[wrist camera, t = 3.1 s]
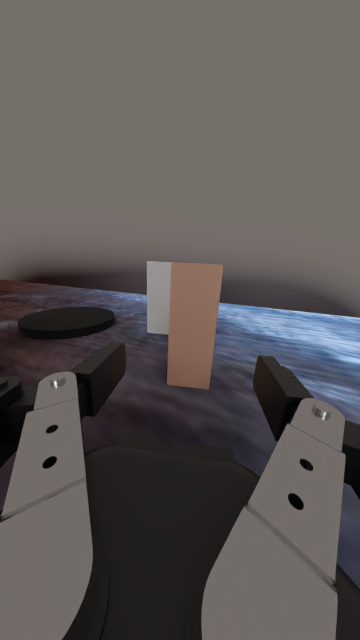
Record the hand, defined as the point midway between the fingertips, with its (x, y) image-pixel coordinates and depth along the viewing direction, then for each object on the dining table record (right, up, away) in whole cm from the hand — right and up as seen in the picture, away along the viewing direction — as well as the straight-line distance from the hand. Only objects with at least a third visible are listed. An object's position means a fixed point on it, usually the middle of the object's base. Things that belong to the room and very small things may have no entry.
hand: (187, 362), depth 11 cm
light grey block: (-4, 0, +29) cm, 29 cm away
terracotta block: (+1, -5, +13) cm, 14 cm away
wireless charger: (-24, +1, +30) cm, 39 cm away
